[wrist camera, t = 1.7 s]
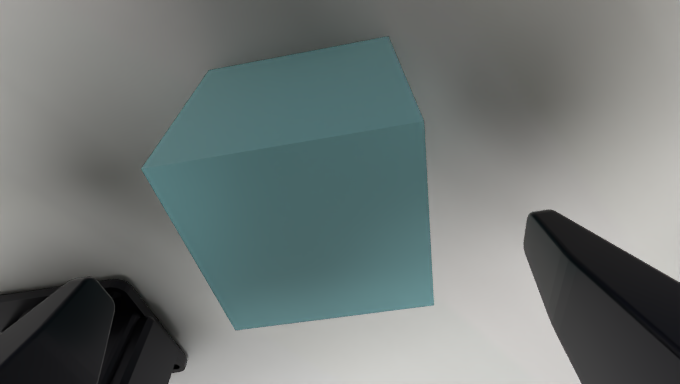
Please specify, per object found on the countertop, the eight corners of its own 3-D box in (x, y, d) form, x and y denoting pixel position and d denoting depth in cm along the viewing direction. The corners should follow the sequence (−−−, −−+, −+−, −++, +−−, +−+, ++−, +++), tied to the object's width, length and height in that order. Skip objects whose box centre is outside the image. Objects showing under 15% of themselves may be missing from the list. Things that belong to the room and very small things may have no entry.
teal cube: (262, 205, 14) (235, 330, 10) (209, 69, 11) (140, 168, 7) (402, 183, 13) (433, 305, 10) (387, 35, 10) (424, 120, 7)
